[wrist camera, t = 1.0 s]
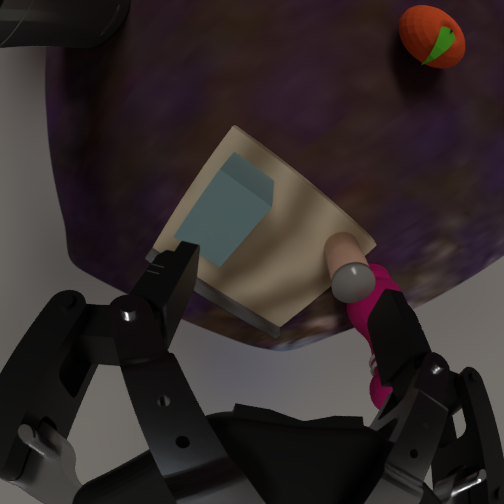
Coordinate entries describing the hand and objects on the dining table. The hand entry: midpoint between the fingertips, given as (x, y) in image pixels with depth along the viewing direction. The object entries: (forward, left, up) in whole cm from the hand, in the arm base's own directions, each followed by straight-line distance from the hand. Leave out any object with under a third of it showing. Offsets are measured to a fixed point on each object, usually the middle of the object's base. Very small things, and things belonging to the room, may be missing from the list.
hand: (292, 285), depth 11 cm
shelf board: (+3, -8, -19) cm, 21 cm away
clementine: (+1, +21, -19) cm, 28 cm away
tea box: (-3, -5, -17) cm, 18 cm away
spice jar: (+10, -2, -17) cm, 20 cm away
